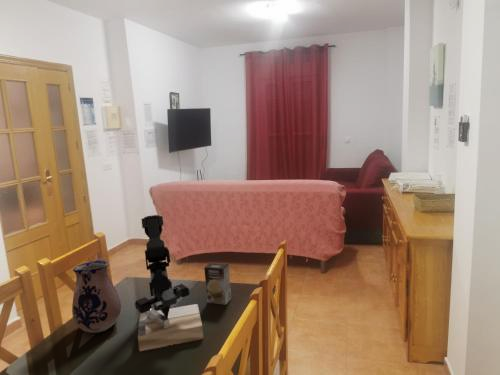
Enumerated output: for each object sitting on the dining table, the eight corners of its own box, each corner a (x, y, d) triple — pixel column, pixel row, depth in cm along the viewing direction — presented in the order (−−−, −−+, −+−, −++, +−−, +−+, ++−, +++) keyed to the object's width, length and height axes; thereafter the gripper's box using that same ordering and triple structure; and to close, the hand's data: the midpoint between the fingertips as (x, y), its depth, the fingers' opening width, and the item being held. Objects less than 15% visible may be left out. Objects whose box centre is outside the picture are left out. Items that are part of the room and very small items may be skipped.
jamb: (141, 325, 149) (140, 313, 148) (198, 315, 154) (197, 303, 153) (140, 336, 141) (139, 323, 140) (200, 325, 146) (199, 312, 145)
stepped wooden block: (140, 337, 141) (138, 315, 139) (200, 325, 145) (198, 304, 144) (139, 351, 131) (136, 328, 130) (203, 338, 136) (201, 316, 135)
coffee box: (206, 303, 164) (203, 267, 161) (212, 296, 170) (209, 262, 167) (226, 305, 161) (223, 268, 158) (232, 298, 167) (229, 263, 164)
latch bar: (144, 316, 144) (144, 309, 144) (152, 313, 146) (151, 306, 146) (163, 329, 134) (162, 321, 133) (171, 326, 136) (170, 318, 135)
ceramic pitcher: (69, 342, 141) (59, 277, 137) (84, 315, 161) (76, 258, 157) (119, 335, 143) (110, 271, 139) (127, 309, 164) (120, 253, 160)
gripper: (142, 295, 125) (149, 339, 128) (193, 277, 135) (199, 317, 138) (131, 285, 134) (138, 326, 137) (180, 268, 144) (186, 307, 147)
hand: (166, 319), depth 139 cm, fingers closed
